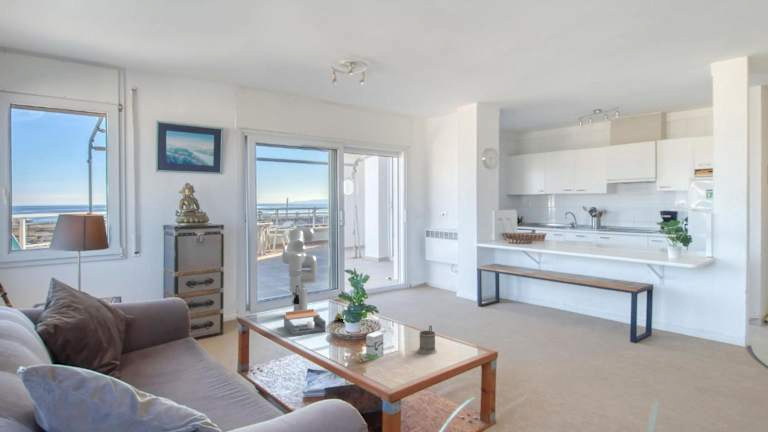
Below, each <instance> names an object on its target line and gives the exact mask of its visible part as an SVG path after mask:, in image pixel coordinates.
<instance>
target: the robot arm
mask: <svg viewBox="0 0 768 432" xmlns="http://www.w3.org/2000/svg"><path fill="white" fill-rule="evenodd" d="M315 238H316V232H315V230H314V229H313V228H312V227H309V226H307V227H304V226H303V227H301V226H300V227H296V228H293V230H290V233H289V239H290V242H288V243H287V244H286V245H285V246H284V247H283V249H282V253H281V254H282V255H281V260H282V263H283V264H284V265H285V264H286V265H288V277H289V291H290V292H291V296H292V295H293V294H294V305H293V311H299V310H308V288H307V287H306V286H305V285H306V284H316V283H317V281H318V259H317V256H316V254H311V253H310V254H307V247H306V245H305V243H312V242H314V241H315V240H316V239H315ZM295 294H296V295H295ZM296 304H299V305H296Z"/></svg>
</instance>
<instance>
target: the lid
mask: <svg viewBox="0 0 768 432" xmlns="http://www.w3.org/2000/svg"><path fill="white" fill-rule="evenodd" d="M317 316H320V317H321V315H320V314H319V313H317V312H316V311H315V309H314V308H312V309H311V308H309V309H308V308H307V310H299V311H294V310H292V311H286V312H285V314H283V318H284V317H285V318H286V319H287V320H290V321H292V320H300V319H308V318H313V317H317Z"/></svg>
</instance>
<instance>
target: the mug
mask: <svg viewBox="0 0 768 432" xmlns="http://www.w3.org/2000/svg"><path fill="white" fill-rule="evenodd" d="M418 333H419V334H418V335H419V347H418V350H417V352H418V353H419V354H423V355H434V354H436V353H437V349H436V332H435V331H433V325H432V324H428V330H422V331H419V332H418Z"/></svg>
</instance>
